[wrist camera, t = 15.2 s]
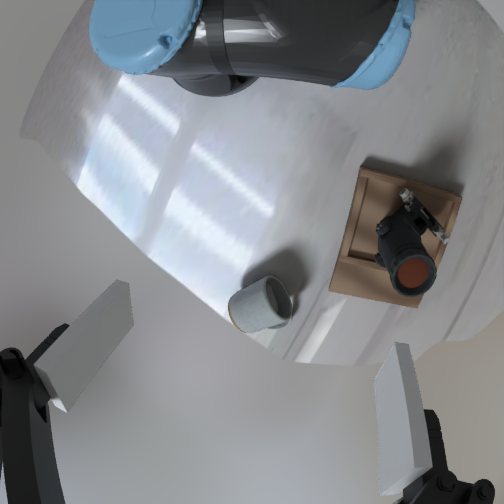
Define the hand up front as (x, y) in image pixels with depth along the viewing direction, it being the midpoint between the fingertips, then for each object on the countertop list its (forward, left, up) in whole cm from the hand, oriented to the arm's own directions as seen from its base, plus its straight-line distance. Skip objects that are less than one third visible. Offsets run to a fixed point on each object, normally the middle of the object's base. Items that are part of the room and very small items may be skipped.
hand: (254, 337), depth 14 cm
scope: (+3, +15, -32) cm, 35 cm away
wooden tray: (+6, +16, -33) cm, 37 cm away
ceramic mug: (+21, -1, -33) cm, 39 cm away
